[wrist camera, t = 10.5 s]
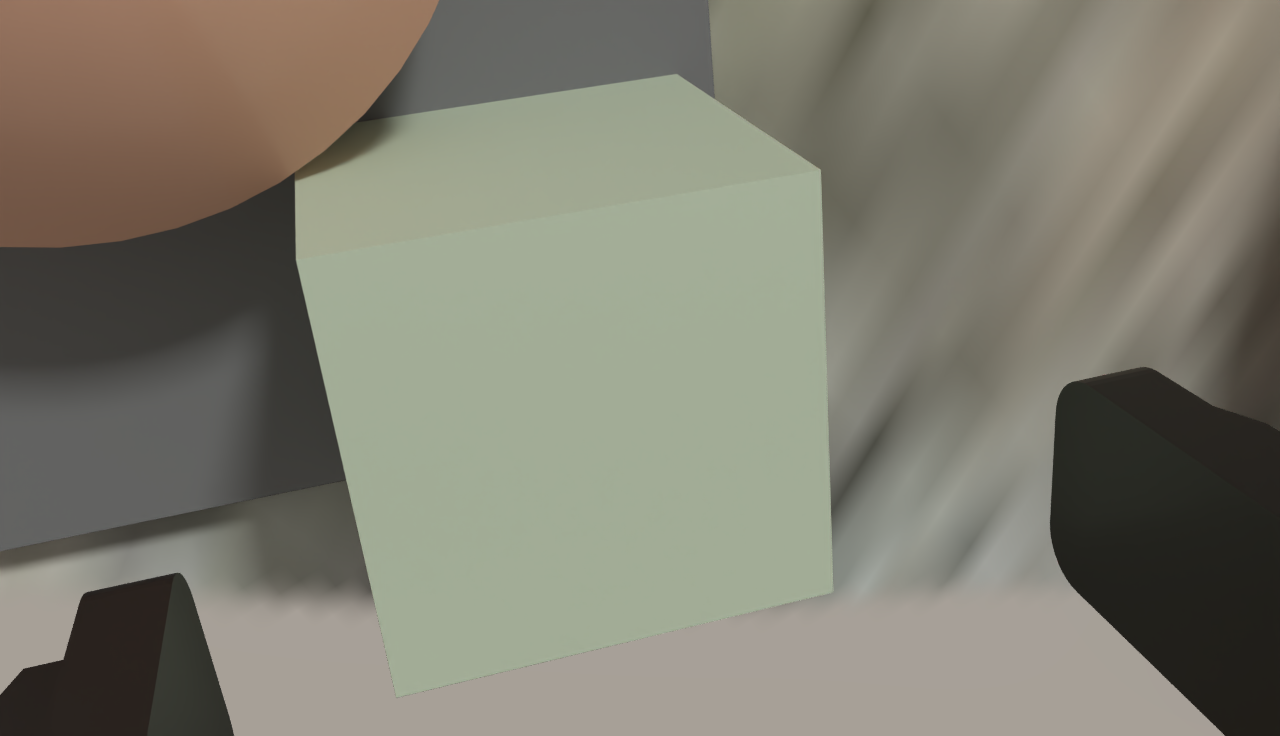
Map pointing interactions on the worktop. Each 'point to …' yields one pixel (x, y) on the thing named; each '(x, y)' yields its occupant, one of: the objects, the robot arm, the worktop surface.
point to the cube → (571, 370)
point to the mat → (250, 299)
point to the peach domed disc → (177, 105)
